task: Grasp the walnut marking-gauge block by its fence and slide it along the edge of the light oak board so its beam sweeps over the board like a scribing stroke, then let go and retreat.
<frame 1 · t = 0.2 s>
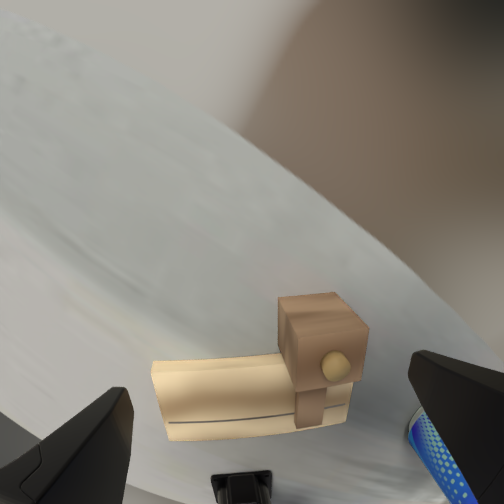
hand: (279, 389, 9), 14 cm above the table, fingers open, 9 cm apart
board: (256, 393, 25), on the table
beer can: (431, 413, 29), on the table
gauge: (306, 318, 23), on the table
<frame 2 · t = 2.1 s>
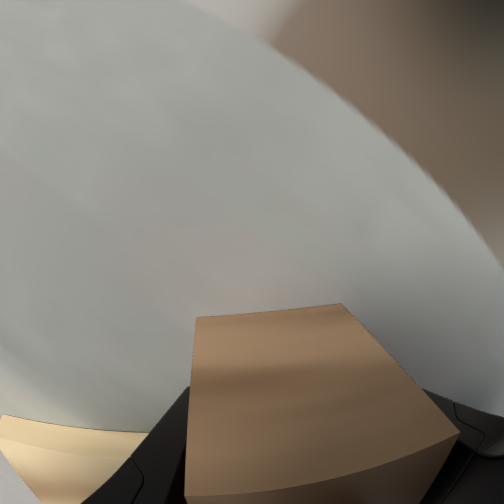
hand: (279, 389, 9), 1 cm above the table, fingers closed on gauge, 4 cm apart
board: (185, 487, 11), on the table
gauge: (272, 366, 10), on the table, touching gripper
when the fingers open (1 cm above the table, at t = 6.3 s): gauge stays where it is, on the table.
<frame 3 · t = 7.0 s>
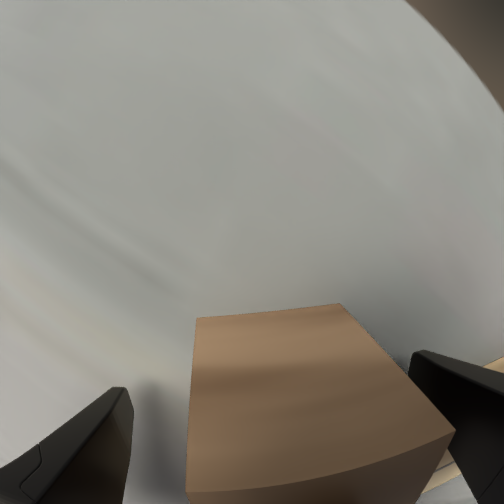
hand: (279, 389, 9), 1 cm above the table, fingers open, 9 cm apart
board: (374, 457, 12), on the table
gauge: (272, 366, 10), on the table
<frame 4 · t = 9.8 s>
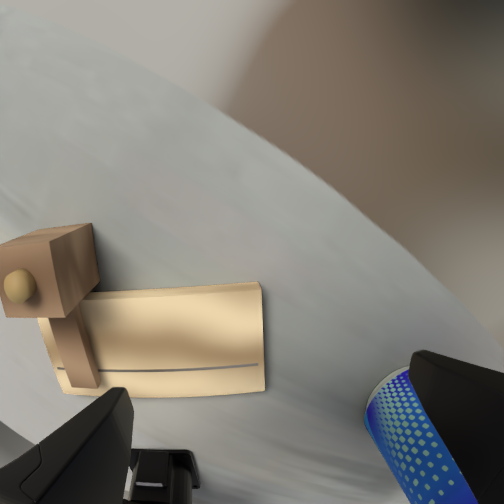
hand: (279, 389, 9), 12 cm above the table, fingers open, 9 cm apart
board: (148, 342, 21), on the table
beer can: (397, 394, 26), on the table
gauge: (68, 254, 19), on the table
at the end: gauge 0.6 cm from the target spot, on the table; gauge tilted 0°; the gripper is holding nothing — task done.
